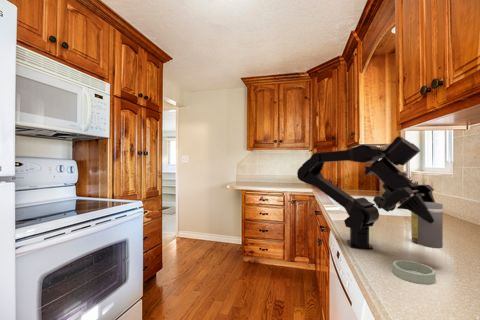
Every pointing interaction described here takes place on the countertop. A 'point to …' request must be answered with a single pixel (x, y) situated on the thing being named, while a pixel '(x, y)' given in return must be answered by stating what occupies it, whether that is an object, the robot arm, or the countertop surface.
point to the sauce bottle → (414, 227)
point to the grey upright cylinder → (431, 227)
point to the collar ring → (414, 277)
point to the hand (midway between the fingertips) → (436, 221)
